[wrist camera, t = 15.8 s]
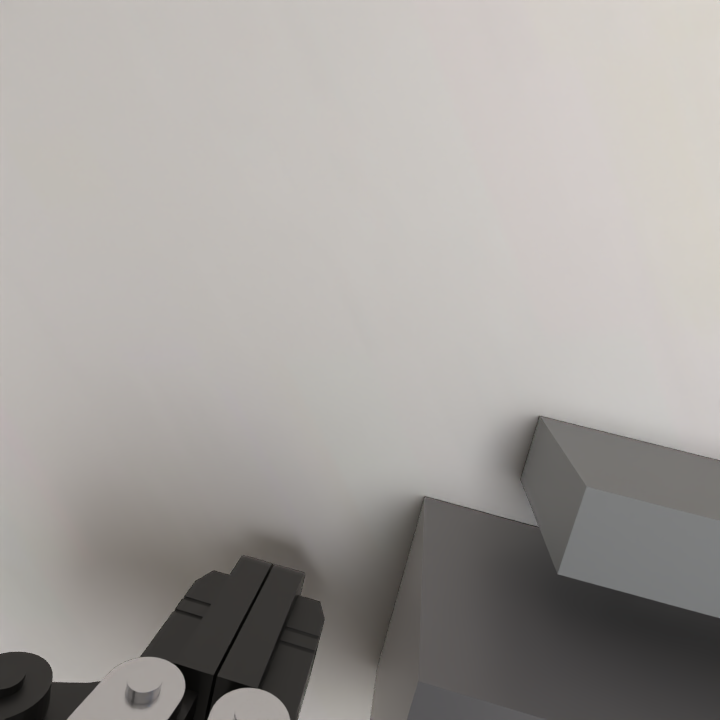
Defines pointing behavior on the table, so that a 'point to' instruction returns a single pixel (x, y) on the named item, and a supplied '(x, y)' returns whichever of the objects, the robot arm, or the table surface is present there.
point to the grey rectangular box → (532, 636)
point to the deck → (627, 514)
